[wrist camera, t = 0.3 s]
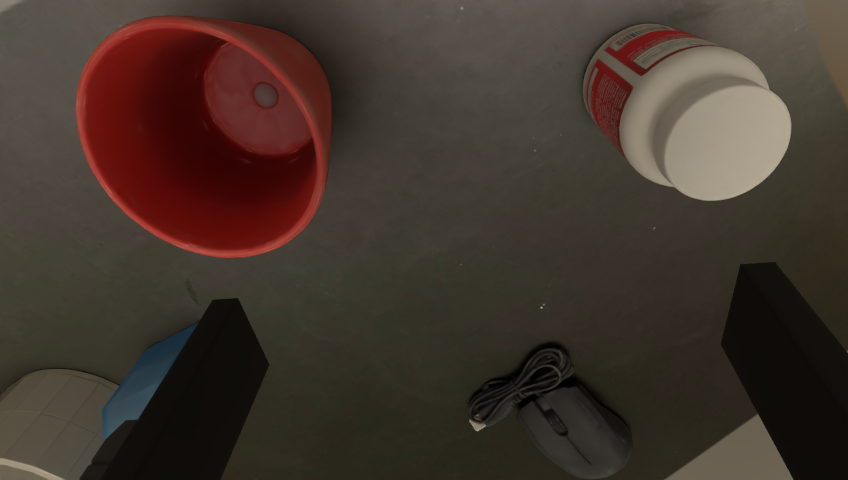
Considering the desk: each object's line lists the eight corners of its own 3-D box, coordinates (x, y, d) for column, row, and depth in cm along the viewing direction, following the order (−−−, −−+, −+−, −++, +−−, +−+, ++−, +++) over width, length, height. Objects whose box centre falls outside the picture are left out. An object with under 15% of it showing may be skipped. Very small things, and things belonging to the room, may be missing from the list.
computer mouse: (569, 478, 48) (578, 518, 44) (458, 401, 43) (459, 439, 40) (662, 427, 44) (680, 467, 40) (550, 335, 39) (560, 372, 36)
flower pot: (326, -27, 27) (271, -12, 19) (377, 163, 32) (352, 241, 24) (145, 16, 28) (19, 47, 20) (223, 191, 34) (149, 274, 25)
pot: (-26, 380, 44) (-120, 468, 37) (112, 357, 42) (41, 445, 35) (65, 477, 51) (0, 567, 43) (188, 461, 49) (142, 553, 41)
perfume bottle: (146, 349, 41) (45, 485, 31) (201, 320, 39) (114, 454, 29) (199, 396, 44) (123, 536, 34) (253, 371, 42) (190, 511, 32)
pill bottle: (633, 150, 31) (716, 243, 22) (557, 93, 30) (610, 166, 20) (716, 64, 28) (851, 127, 19) (637, -4, 27) (741, 27, 17)
